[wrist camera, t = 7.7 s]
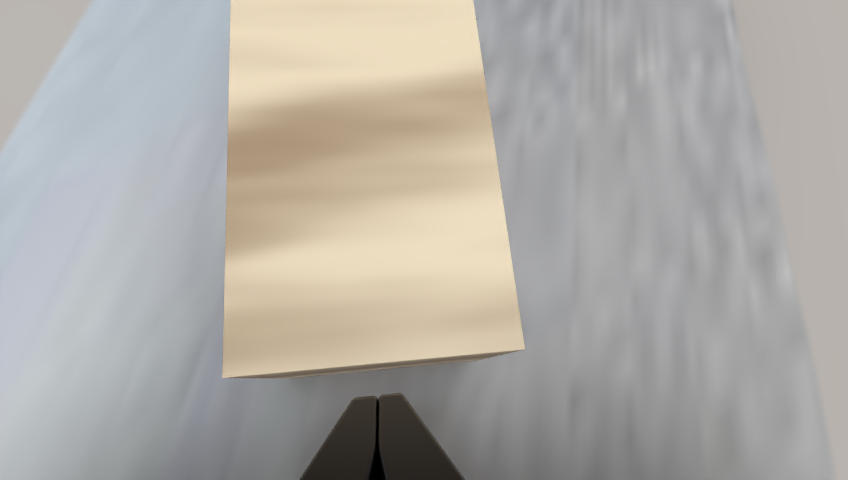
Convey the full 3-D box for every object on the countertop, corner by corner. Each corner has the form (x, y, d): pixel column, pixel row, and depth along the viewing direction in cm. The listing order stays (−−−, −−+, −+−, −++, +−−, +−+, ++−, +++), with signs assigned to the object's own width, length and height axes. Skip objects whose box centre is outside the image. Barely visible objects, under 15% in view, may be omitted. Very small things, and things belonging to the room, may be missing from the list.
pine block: (524, 349, 10) (450, -153, 14) (222, 378, 9) (234, -151, 13) (476, 360, 15) (434, 6, 19) (289, 378, 15) (283, 11, 19)
